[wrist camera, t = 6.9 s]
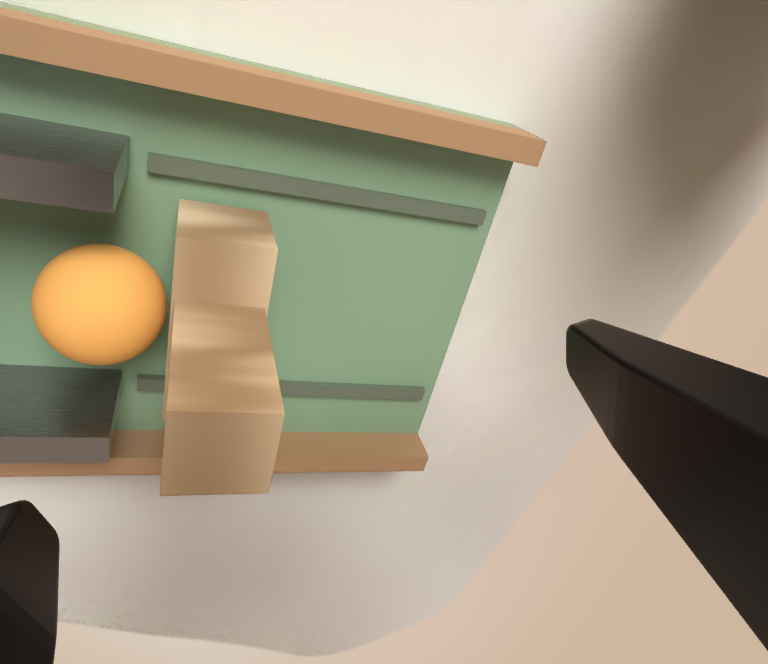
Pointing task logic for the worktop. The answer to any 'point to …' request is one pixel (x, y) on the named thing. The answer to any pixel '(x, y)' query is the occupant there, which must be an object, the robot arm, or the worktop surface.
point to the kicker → (221, 355)
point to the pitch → (288, 220)
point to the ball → (99, 304)
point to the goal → (47, 383)
